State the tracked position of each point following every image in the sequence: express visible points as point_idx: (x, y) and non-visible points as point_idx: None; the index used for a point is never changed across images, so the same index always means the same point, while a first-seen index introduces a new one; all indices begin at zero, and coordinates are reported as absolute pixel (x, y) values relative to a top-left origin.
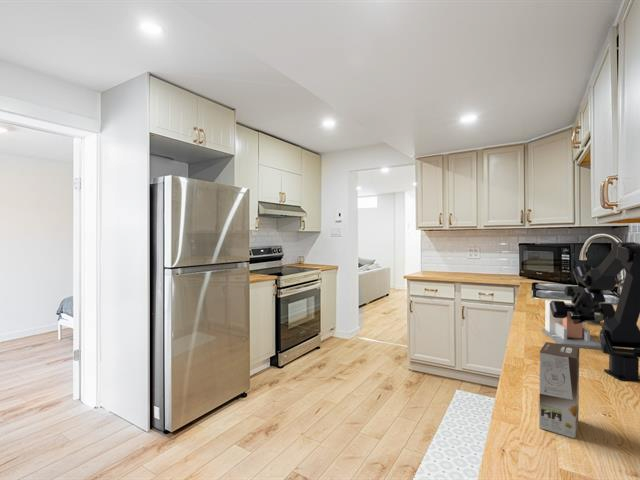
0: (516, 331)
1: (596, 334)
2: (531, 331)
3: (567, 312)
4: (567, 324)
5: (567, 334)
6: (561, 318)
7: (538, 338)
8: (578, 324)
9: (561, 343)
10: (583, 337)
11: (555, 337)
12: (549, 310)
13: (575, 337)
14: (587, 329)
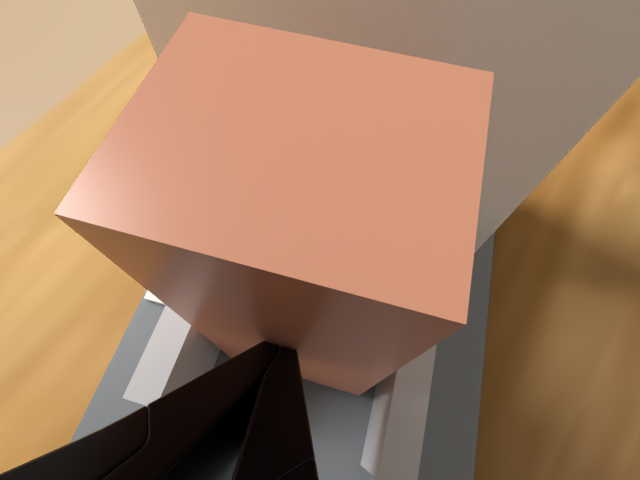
0: (43, 129)
1: (594, 193)
2: None
3: (128, 267)
4: (204, 329)
5: (231, 355)
6: None
7: (49, 293)
8: (329, 369)
9: None
10: (379, 382)
11: (143, 337)
12: (144, 15)
13: (302, 378)
14: (412, 430)
